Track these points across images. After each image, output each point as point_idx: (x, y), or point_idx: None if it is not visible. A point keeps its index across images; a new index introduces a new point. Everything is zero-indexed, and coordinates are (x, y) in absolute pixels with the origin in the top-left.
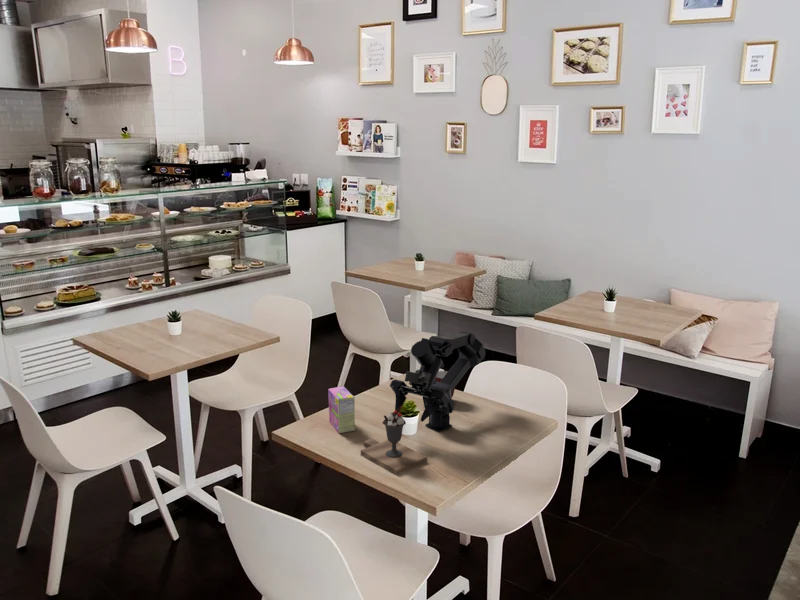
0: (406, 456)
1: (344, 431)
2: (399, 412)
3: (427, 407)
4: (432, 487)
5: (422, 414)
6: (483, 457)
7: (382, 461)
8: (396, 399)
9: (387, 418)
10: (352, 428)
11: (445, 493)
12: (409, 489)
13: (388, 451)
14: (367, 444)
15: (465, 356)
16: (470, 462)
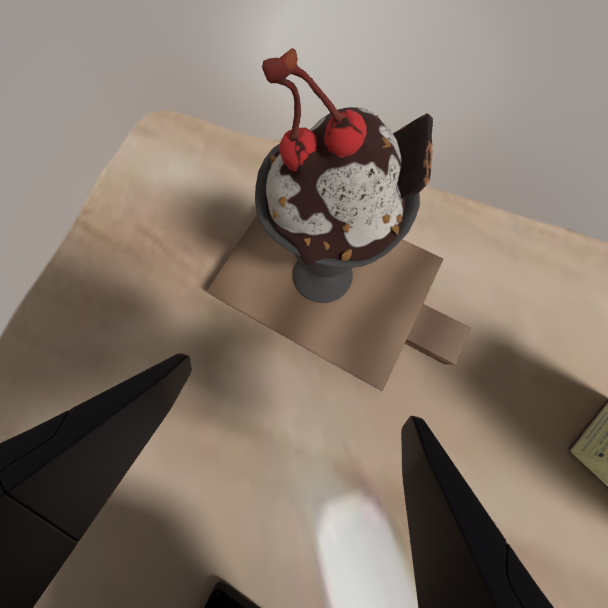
0: (275, 271)
1: (601, 416)
2: (296, 117)
3: (38, 442)
4: (170, 169)
5: (151, 381)
6: (26, 397)
7: None
8: (535, 599)
9: (402, 194)
10: (589, 446)
11: (134, 155)
12: (226, 143)
13: (345, 273)
14: (446, 317)
15: None
16: (72, 343)
